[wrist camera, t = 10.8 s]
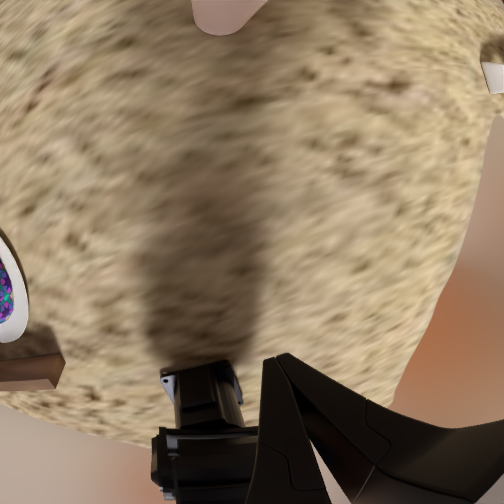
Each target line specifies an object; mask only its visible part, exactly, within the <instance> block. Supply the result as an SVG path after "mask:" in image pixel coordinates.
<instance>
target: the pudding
mask: <svg viewBox="0 0 504 504" xmlns="http://www.w3.org/2000/svg"><path fill="white" fill-rule="evenodd" d="M0 258H1V260H2V262H3V263H4V265H5V267H6V269H7V272H8V274H9V276H8V274H7V273H6V272H5V271H4V270H3V269H2V266H1V260H0V342H1V343H9V342H12V341H15V340H16V339H18V338H19V337H20V336H21V335H22V334H23V332H24V330H25V328H26V325H27V320H28V300H27V294H26V289H25V285H24V282H23V279H22V276H21V273H20V270H19V268H18V266H17V264H16V261H15V259H14V257H13V256H12V254H11V252H10V250H9V249H8V247H7V246H6V244H5V243H4V241H3V240H2V239H1V237H0ZM9 277H10V278H9ZM11 283H12V284H11ZM12 287H13V292H14V309H13V302H12V299H11V297H10V294H11V292H12ZM12 311H13V312H12ZM11 313H12V315H11ZM9 315H11V317H10V318H9V319H8V320H7V321H6V322H4V321H5V318H6V317H7V316H9ZM3 322H4V323H3ZM1 323H2V324H1Z"/></svg>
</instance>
